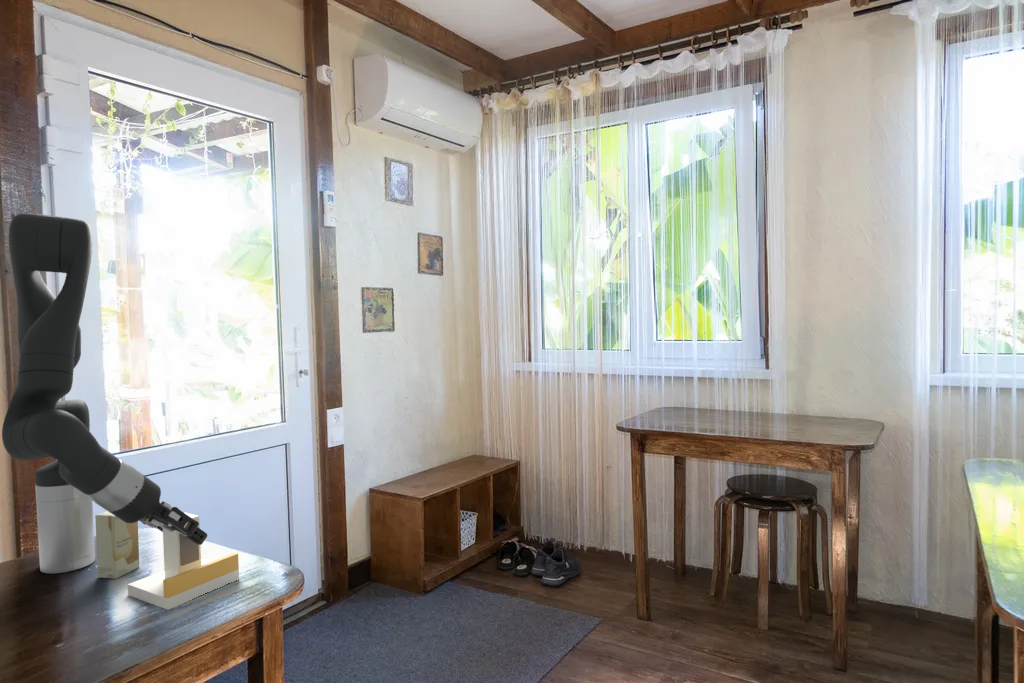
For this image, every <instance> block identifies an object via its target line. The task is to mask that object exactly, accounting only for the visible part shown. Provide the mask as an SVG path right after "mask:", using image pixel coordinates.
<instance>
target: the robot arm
mask: <svg viewBox="0 0 1024 683" xmlns="http://www.w3.org/2000/svg"><path fill="white" fill-rule="evenodd" d="M8 247H9V256H10V262H11V268H12V269H11V270H12V275H13V280H14V286H15V294H16V302H17V338H18V354H19V359H18V360H19V363H18V369H17V370H18V372H17V373H18V374H17V385H16V388H15V389H14V390H15V391H14V392H13V395H12V396H11V400H10V401H9V402H10V403H9V404H8V405H9V406H8V409H7V411H6V414H5V417H4V420H3V423H2V428H1V430H2V431H1V438H2V443H3V446H4V449H5V451H6V452H7V454H8V455H10V456H11V457H12V458H14V459H15V460H16V459H17V460H19V461H34V460H38V459H43V458H48V457H50V458H53V459H54V460H55V461H52V462H50V463H46V464H45V465H43V466H41V467H39V468H37V469H36V470H35V472H34V485H35V487H34V488H35V501H36V503H35V504H36V519H37V520H36V522H37V535H38V536H37V537H38V538H37V539H38V540H37V541H38V555H39V556H38V557H39V570H40V572H41V573H44V574H60V573H61V574H62V573H69V572H72V571H76V570H80V569H82V568H85V567H87V566H90V565H91V564H93V563H94V562H95V561H96V550H95V549H96V548H95V547H96V545H95V530H94V528H95V527H94V508H93V502H94V503H95V504H96V505H98V506H99V507H101V508H102V509H104V510H105V511H109V512H110V513H112V514H113V515H115V516H116V517H118V518H119V519H121V520H122V521H124V522H126V523H134V522H137V521H138V522H139V521H140V522H141V523H142V524H143V525H147V526H148V527H151V528H154V529H157V530H158V531H161V533H163V528H164V529H166V530H168V531H169V532H174V531H176V532H178V533H180V534H182V535H183V536H186V537H187V538H189V539H190V540H192V541H193V542H195V543H196V544H199V545H200V546H201V545H203V543H204V542H205V540H206V539H207V538H208V533H207V532H205V531H204V530H203V529H201V528H198V525H199V523H200V522H199V523H198V522H197V521H195V520H194V519H192V518H191V517H189V516H188V515H186V514H185V512H184V511H182V510H180V509H179V507H177V506H171V504H169V503H168V502H166V501H161V502H160V499H161V495H162V490H161V487H160V486H159V485H158V484H157V483H156V482H154V481H152V480H151V479H150V478H149V477H147V476H146V475H144V474H143V472H141V471H139V470H137V469H136V468H135V467H133V466H132V465H131V464H129V463H127V462H125V461H123V460H121V459H119V458H118V457H117V456H116V455H115V454H113V453H111V452H110V451H108V450H107V449H105V448H104V447H102V446H101V445H100V443H99V441H97V438H95V436H94V435H93V434H92V433H91V431H90V430H91V429H90V428H91V424H90V410H89V407H88V404H87V403H86V401H85V400H83V399H67V400H61V399H62V398H63V397H64V396H66V395H68V394H69V393H70V392H71V390H72V387H73V381H74V369H75V368H76V366H77V365H78V364H79V362H80V359H81V354H82V333H81V332H82V330H81V326H80V321H81V320H80V319H81V315H82V313H83V312H82V311H83V306H84V303H85V298H86V291H87V286H88V282H89V274H90V269H91V264H92V255H93V235H92V229H91V226H90V225H89V223H88V222H87V220H84V219H80V218H75V217H74V218H73V217H66V216H64V217H63V216H58V215H57V216H56V215H47V214H41V213H40V214H39V213H27V212H26V213H18V214H16V215H15V216H13V217H12V219H11V221H10V224H9V228H8ZM41 272H44V273H45V272H49V273H58V274H59V273H60V274H65V280H64V283H63V285H62V287H61V290H60V291H59V293H58V295H57V296H55V295H54V293H53V292H52V291H51V290H50V288H49V287H48V285H47V284H46V282H45V281H44V279H43V276H42V274H41ZM186 523H187V525H186V527H185V528H184V526H185V524H186ZM169 524H171V525H172V526H168V525H169Z"/></svg>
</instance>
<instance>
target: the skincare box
mask: <svg viewBox="0 0 1024 683" xmlns="http://www.w3.org/2000/svg"><path fill="white" fill-rule="evenodd" d="M95 544H96V545H95V547H96V548H95V549H96V574H97V578H102V579H119V578H120V577H122V576H124V575H126V574H128V573H130V572H132V571H134V570H136V569H138V568H140V552H139V550H140V549H139V548H140V547H139V546H140V545H139V521H137V522H134V523H126V522H124V521H122V520H121V519H119V518H118V517H116V516H115V515H113V514H112V513H110V512H109V511H107V510H105V511H104V512H103V511H102V512H101V513H98V514H96V515H95Z"/></svg>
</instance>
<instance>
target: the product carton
mask: <svg viewBox="0 0 1024 683" xmlns="http://www.w3.org/2000/svg"><path fill="white" fill-rule="evenodd" d="M184 513H185V514H186V515H188V516H189V517H191V518H192V519H194V520H195V521H197V522H198V523H199V525H198V528H200V524H201V523H200V516H199V515H197V514H193V513H190V512H186V511H185V512H184ZM186 525H187V523H186V524H185V526H184V528H185V527H186ZM168 526H172V525H171V524H169V525H168ZM200 529H201V528H200ZM162 542H163V544H162V545H163V561H164V562H163V566H164V568H163V569H164V571H165V578H166V579H167V578H170V577H173V576H175V575H178V574H180V573H183V572H186V571H188V570H191V569H193V568H196V567H199V566H201V558H202V549H201V545H199V544H196V543H195V542H193V541H192V540H190V539H189V538H187V537H186V536H183V535H182V534H180V533H178V532H176V531H174V532H169V531H168V530H166V529H164V528H163V532H162Z"/></svg>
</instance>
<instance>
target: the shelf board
mask: <svg viewBox="0 0 1024 683" xmlns="http://www.w3.org/2000/svg"><path fill="white" fill-rule="evenodd" d="M239 566H240V565H239V553H238V552H233V553H230V554H228V555H225V556H223V557H220V558H217V559H215V560H208V559H204V558H202V557H201V566H199V567H196V568H193V569H191V570H188V571H186V572H183V573H180V574H178V575H175V576H173V577H170V578H167V579H166V578H165V570H162V571H159V572H157V573H155V574H152V575H151V574H150V575H149V576H146V577H143V578H141V579H138V580H136V581H133V582H130V583H127V595H128V596H130V597H132V598H135V599H137V598H138V600H140V601H142V602H145V603H149V604H151V605H153V604H154V605H153V606H156V607H159V608H161V607H162V609H164V610H167V611H170V610H171V609H174V608H176V607H178V606H180V605H182V604H185V602H186V603H187V602H190V601H192V599H193V598H195V599H197V598H199V597H198V596H200V595H202V596H204V595H206V594H205V593H207V592H209V593H211V592H213V591H212V590H214V589H216V590H218V589H220V587H221V588H223V587H225V586H227V585H226V584H228V583H230V584H232V583H234V582H233V581H235V580H237V579H239V580H240V567H239ZM237 581H238V580H237ZM231 582H232V583H231ZM235 582H236V581H235ZM224 585H225V586H224ZM228 585H229V584H228ZM222 586H223V587H222ZM217 588H218V589H217ZM210 591H211V592H210ZM214 591H215V590H214ZM203 594H204V595H203ZM207 594H208V593H207ZM196 597H197V598H196ZM200 597H201V596H200ZM189 600H190V601H189ZM193 600H194V599H193Z"/></svg>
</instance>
